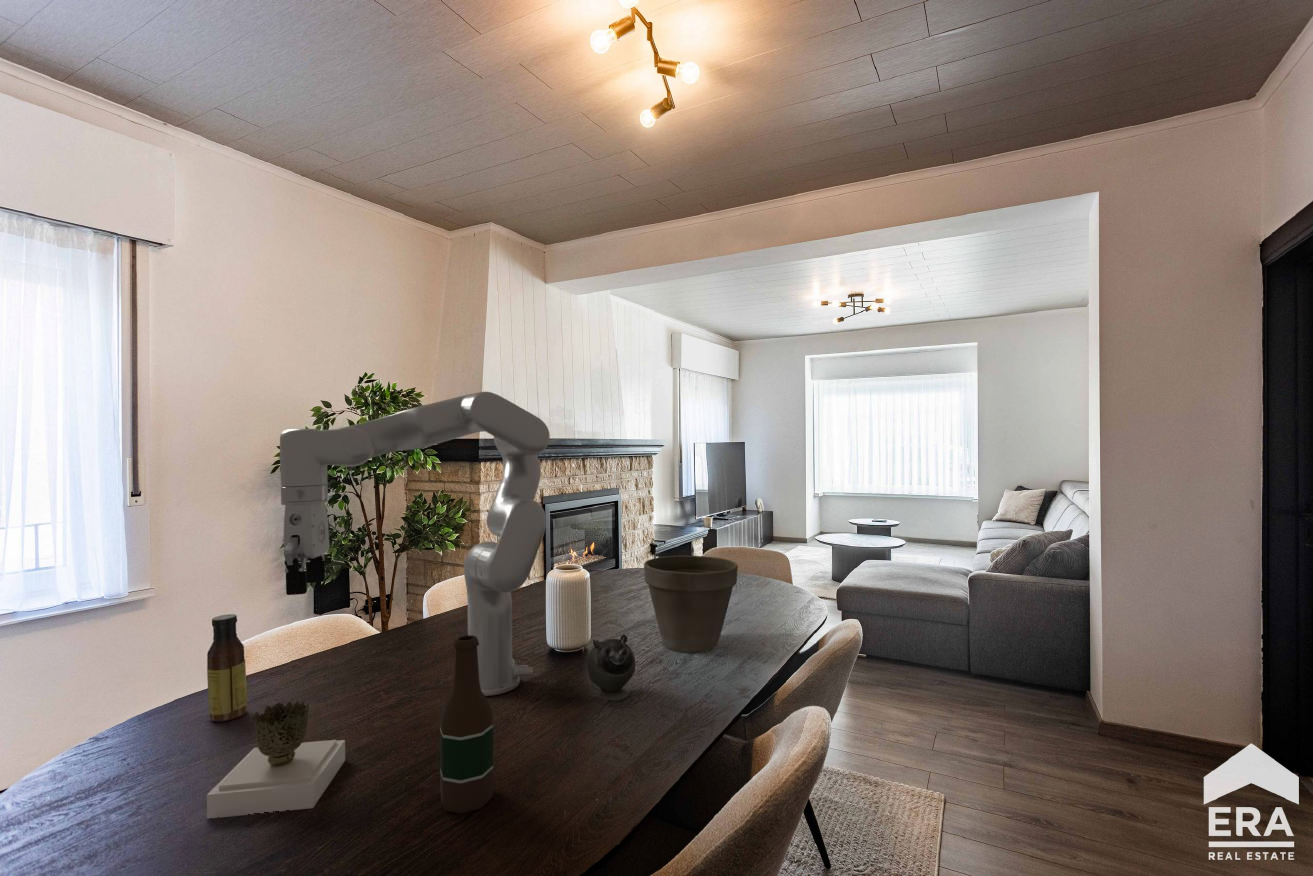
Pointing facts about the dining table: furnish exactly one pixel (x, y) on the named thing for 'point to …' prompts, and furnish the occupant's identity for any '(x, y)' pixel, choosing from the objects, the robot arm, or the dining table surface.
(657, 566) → the plant pot
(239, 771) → the pedestal
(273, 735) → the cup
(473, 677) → the beer bottle
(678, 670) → the dining table surface
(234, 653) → the sauce bottle
